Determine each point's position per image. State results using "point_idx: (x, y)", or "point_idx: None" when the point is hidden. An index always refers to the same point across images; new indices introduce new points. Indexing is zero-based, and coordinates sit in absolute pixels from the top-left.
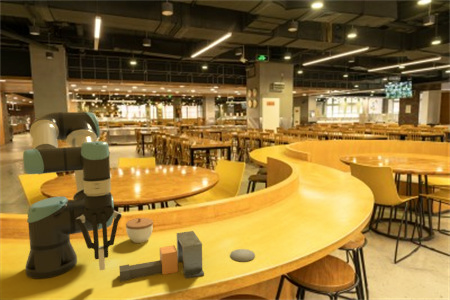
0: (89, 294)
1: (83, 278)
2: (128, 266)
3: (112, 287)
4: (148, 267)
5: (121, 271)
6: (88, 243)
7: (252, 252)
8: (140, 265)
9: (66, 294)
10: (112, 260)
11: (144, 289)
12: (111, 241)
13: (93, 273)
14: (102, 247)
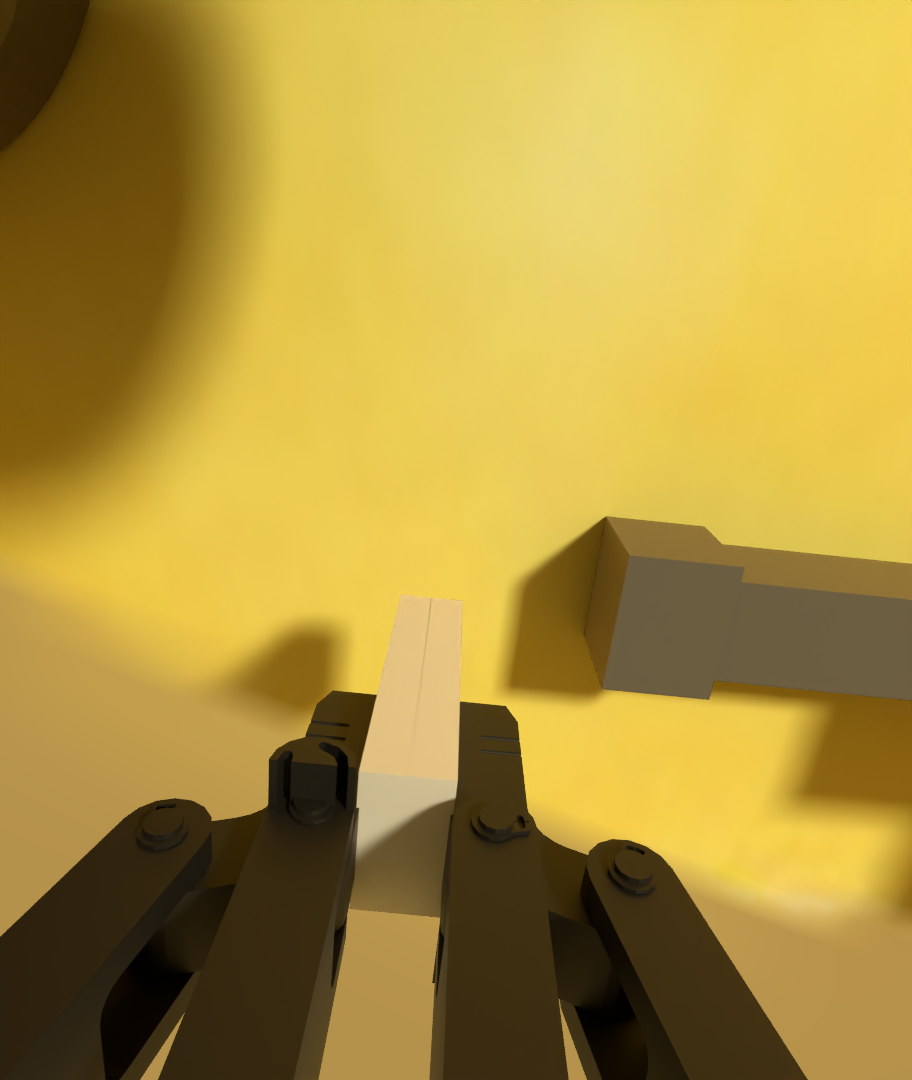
0: None
1: (244, 402)
2: (722, 614)
3: (505, 690)
4: (909, 694)
5: (622, 684)
6: (117, 1037)
7: None
8: (851, 635)
9: (127, 624)
10: (598, 57)
11: (736, 823)
12: (606, 1046)
13: (345, 336)
14: (425, 846)
